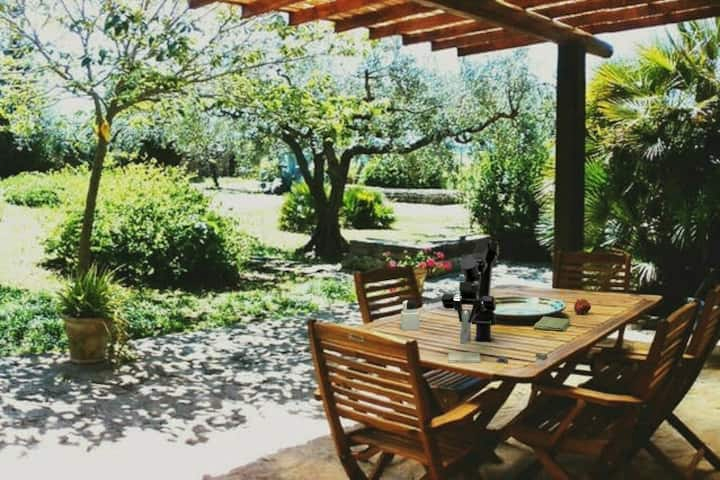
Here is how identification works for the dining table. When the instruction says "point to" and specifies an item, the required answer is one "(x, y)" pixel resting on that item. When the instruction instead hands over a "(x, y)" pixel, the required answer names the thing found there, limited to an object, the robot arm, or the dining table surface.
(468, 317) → the steel hook
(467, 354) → the cream ceramic tile
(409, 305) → the medicine bottle
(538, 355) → the vise jaws
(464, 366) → the dining table surface
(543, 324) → the washcloth
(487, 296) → the robot arm
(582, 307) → the red spiky fruit
